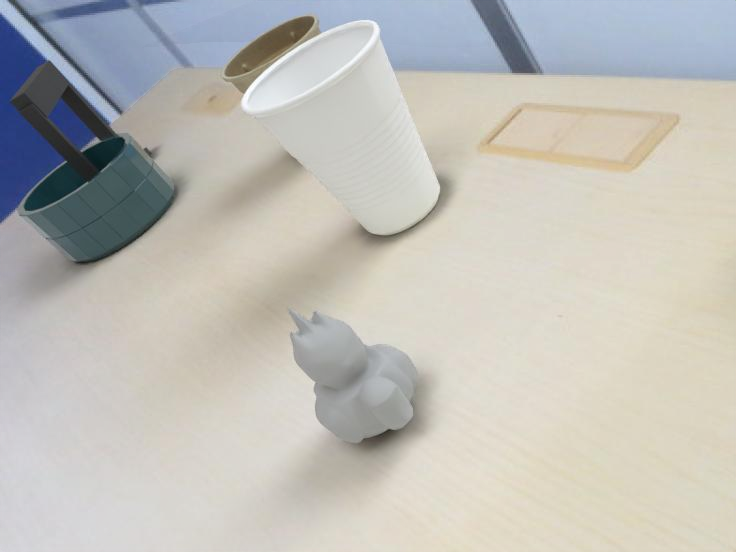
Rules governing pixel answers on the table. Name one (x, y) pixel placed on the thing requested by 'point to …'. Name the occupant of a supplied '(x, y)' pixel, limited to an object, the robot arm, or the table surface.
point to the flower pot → (269, 50)
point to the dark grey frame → (40, 101)
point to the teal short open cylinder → (99, 200)
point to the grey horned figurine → (353, 378)
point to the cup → (349, 126)
